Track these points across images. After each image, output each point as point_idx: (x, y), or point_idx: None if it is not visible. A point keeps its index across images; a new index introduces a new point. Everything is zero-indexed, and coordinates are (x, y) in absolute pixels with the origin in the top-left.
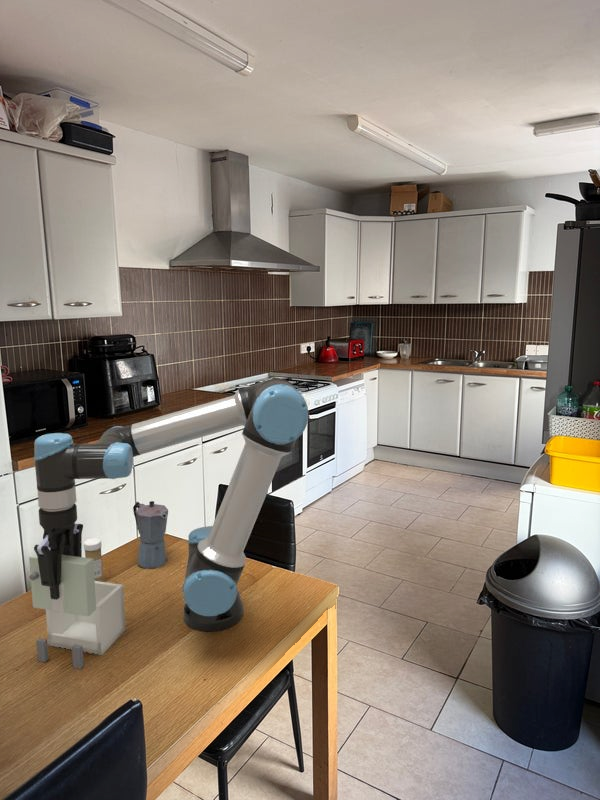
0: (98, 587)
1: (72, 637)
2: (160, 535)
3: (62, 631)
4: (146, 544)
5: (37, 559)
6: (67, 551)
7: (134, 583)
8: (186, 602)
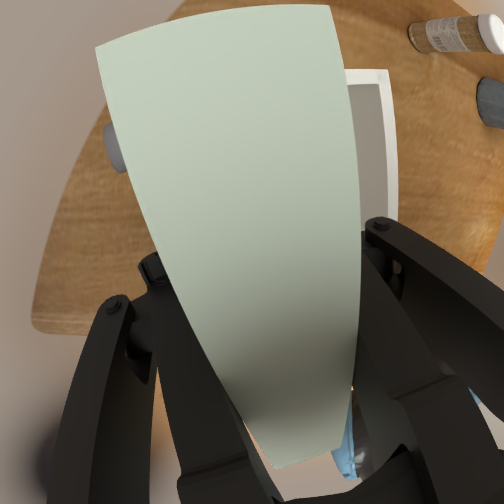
0: (379, 177)
1: None
2: None
3: None
4: None
5: (141, 200)
6: (364, 408)
7: (447, 107)
8: None
